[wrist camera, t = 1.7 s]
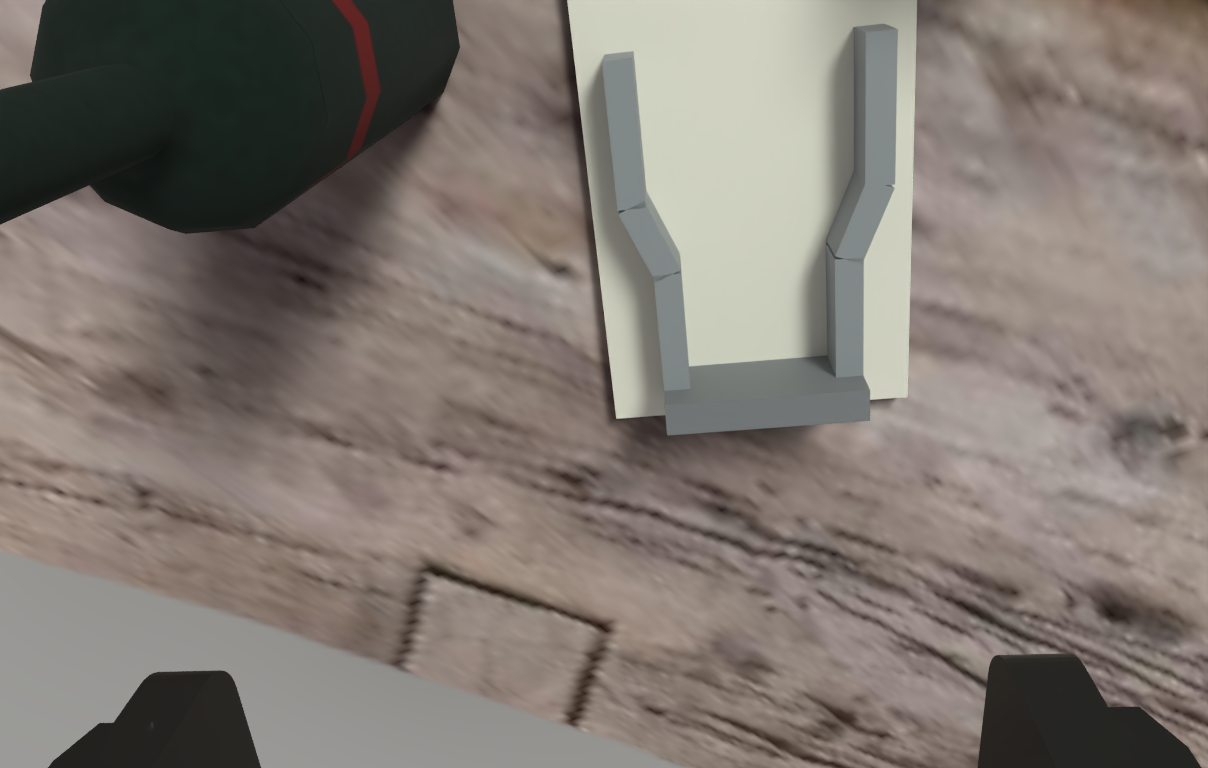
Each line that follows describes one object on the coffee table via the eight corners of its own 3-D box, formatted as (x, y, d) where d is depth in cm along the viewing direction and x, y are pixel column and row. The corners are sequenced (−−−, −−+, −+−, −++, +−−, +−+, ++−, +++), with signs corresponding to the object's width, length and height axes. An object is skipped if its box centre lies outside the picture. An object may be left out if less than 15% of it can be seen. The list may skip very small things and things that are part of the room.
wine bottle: (387, -163, 38) (-290, -406, 11) (489, 87, 42) (179, 371, 15) (216, -85, 39) (-755, -126, 12) (329, 150, 43) (-218, 511, 16)
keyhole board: (560, -74, 39) (547, -75, 34) (913, -118, 38) (948, -125, 33) (617, 409, 48) (613, 458, 44) (902, 388, 47) (928, 436, 42)
